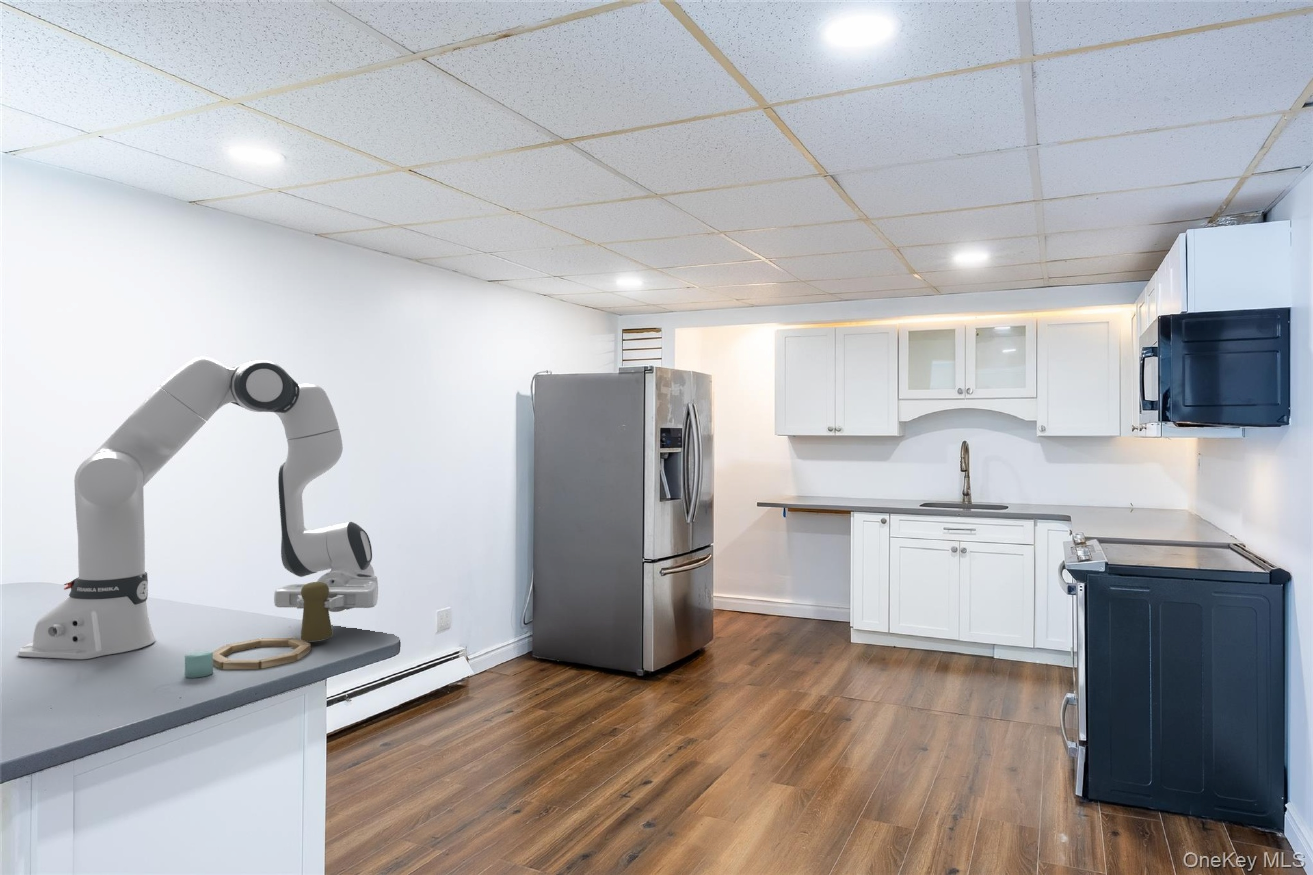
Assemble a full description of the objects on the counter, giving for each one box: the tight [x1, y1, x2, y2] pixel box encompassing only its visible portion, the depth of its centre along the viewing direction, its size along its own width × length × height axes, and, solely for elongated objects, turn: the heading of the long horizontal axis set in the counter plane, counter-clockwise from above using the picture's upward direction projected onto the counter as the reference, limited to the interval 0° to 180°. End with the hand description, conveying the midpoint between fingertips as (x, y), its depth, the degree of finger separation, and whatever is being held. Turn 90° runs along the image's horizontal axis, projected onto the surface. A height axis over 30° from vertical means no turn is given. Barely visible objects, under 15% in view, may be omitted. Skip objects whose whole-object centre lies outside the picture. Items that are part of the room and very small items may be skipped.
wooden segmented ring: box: [212, 637, 311, 670], centre depth 156 cm, size 17×17×1 cm
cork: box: [300, 581, 333, 642], centre depth 165 cm, size 6×6×11 cm
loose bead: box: [184, 651, 214, 679], centre depth 145 cm, size 4×4×4 cm
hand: (314, 604), depth 164 cm, fingers closed on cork, 4 cm apart
